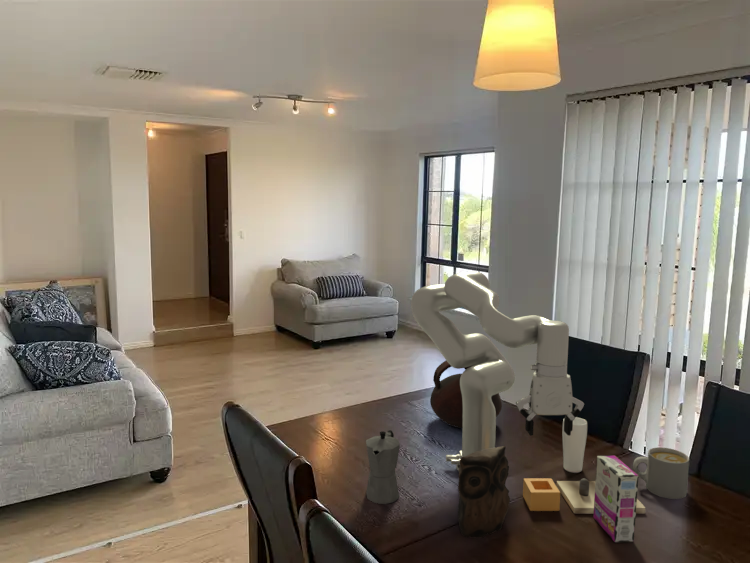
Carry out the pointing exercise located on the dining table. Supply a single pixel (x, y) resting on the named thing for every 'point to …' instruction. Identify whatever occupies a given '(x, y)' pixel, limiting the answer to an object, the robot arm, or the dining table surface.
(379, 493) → the coffeepot
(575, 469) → the drinking glass
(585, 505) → the board
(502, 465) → the owl
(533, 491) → the small open box
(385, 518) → the dining table surface
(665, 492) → the coffee mug
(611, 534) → the candy bar box
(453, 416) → the jug
